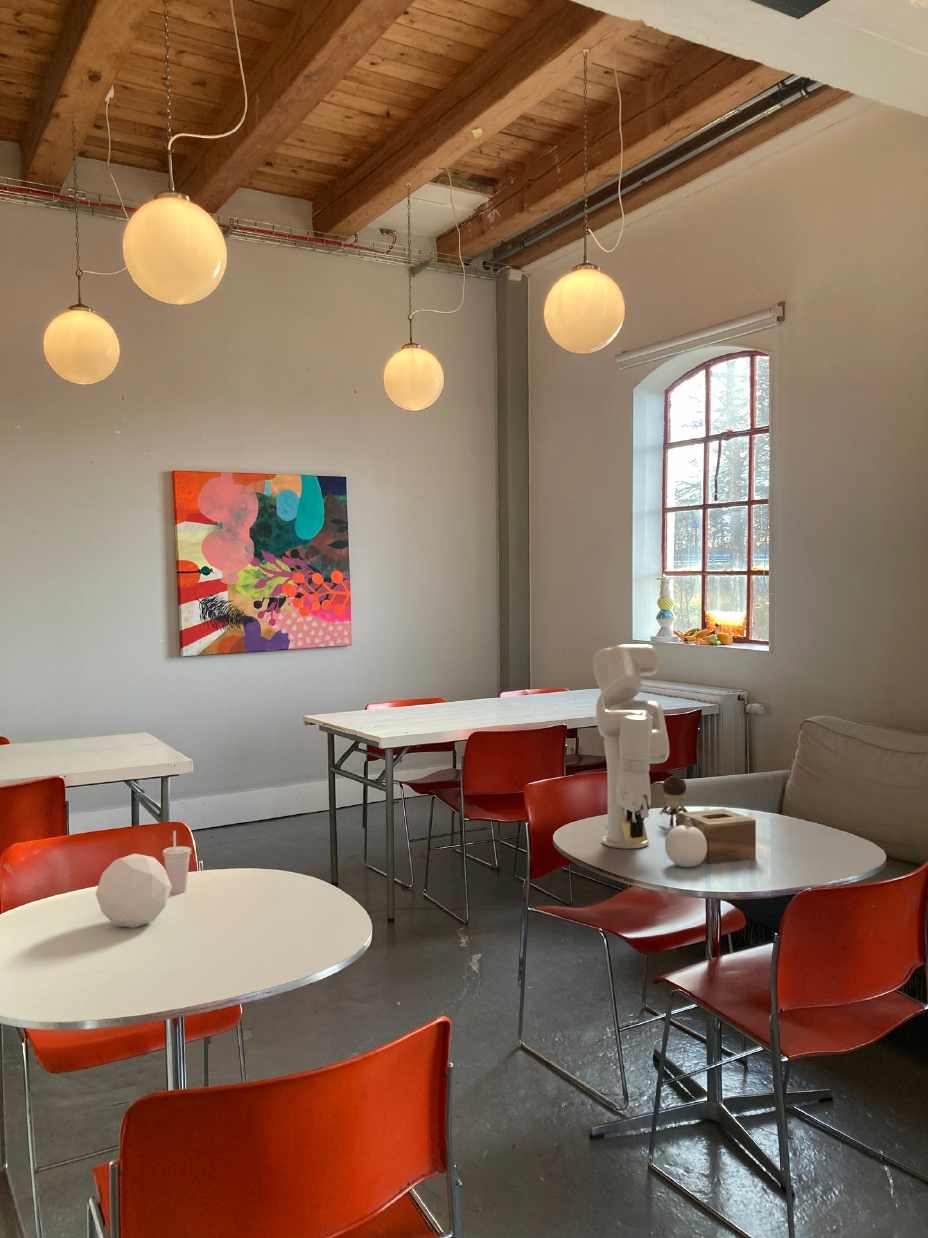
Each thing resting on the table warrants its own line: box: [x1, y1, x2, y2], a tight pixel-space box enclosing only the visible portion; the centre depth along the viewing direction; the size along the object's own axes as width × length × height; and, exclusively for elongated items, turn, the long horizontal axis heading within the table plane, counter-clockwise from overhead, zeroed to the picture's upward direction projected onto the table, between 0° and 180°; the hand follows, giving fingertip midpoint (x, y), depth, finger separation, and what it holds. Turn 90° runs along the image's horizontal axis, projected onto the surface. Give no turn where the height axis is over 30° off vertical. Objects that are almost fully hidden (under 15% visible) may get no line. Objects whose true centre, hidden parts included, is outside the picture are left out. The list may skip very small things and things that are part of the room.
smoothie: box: [162, 830, 192, 895], centre depth 211 cm, size 6×6×14 cm
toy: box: [659, 775, 689, 826], centre depth 271 cm, size 9×7×15 cm
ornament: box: [664, 818, 707, 868], centre depth 229 cm, size 10×10×12 cm
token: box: [621, 818, 649, 846], centre depth 232 cm, size 2×5×6 cm, turn 110°
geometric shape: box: [95, 853, 172, 929], centre depth 190 cm, size 14×15×15 cm
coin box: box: [678, 808, 757, 865], centre depth 240 cm, size 14×14×10 cm
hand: (634, 835), depth 232 cm, fingers closed on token, 2 cm apart
